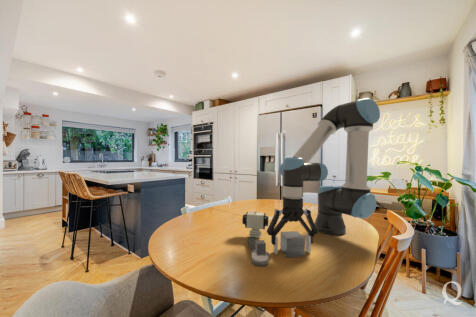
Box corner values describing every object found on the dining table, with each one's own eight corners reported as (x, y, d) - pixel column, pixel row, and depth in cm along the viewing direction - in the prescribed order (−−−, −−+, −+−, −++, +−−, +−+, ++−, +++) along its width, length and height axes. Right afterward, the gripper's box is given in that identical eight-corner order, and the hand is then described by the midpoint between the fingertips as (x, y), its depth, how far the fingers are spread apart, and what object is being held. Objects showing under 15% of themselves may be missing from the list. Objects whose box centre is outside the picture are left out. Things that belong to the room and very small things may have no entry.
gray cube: (296, 248, 82) (297, 231, 82) (304, 256, 75) (304, 237, 75) (280, 249, 81) (280, 231, 81) (286, 257, 74) (286, 238, 74)
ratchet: (258, 241, 87) (258, 225, 88) (270, 266, 68) (271, 245, 68) (244, 242, 87) (244, 226, 87) (253, 266, 67) (253, 245, 67)
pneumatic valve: (267, 240, 90) (268, 213, 90) (241, 237, 92) (242, 211, 92) (268, 235, 95) (268, 210, 95) (244, 233, 97) (244, 208, 97)
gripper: (317, 195, 83) (317, 247, 83) (259, 195, 80) (258, 248, 80) (328, 198, 76) (327, 255, 75) (264, 198, 73) (263, 258, 73)
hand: (291, 252), depth 78 cm, fingers open, 12 cm apart
